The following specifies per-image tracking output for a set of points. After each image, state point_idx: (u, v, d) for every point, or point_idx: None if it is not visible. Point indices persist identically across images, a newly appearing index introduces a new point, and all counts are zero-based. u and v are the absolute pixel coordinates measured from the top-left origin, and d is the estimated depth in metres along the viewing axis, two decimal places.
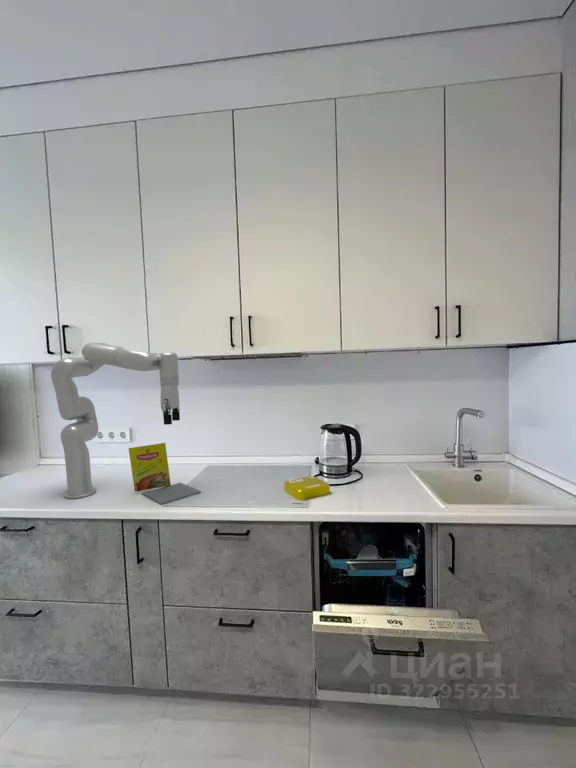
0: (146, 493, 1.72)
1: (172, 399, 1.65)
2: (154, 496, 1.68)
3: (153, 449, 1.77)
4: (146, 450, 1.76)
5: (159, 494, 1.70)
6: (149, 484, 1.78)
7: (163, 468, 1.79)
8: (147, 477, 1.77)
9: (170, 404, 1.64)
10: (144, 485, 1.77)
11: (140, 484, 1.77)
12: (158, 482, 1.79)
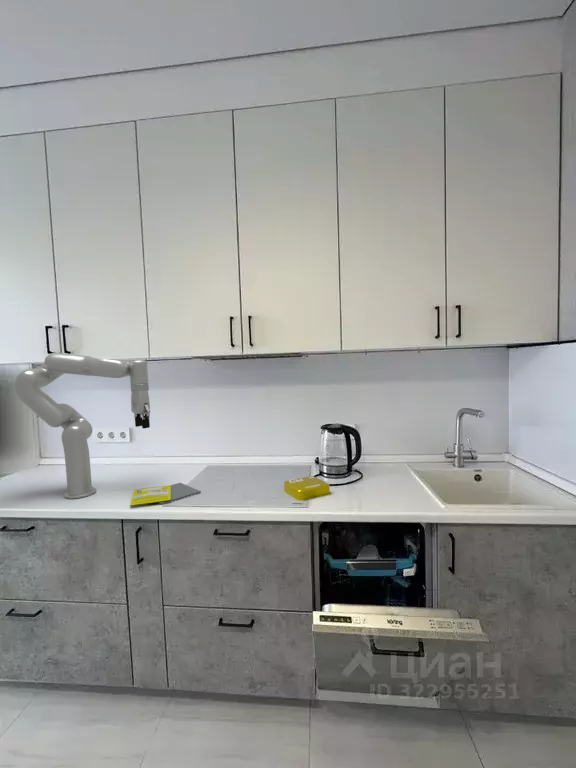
0: None
1: None
2: None
3: None
4: None
5: None
6: None
7: None
8: None
9: (149, 409, 1.78)
10: None
11: None
12: None
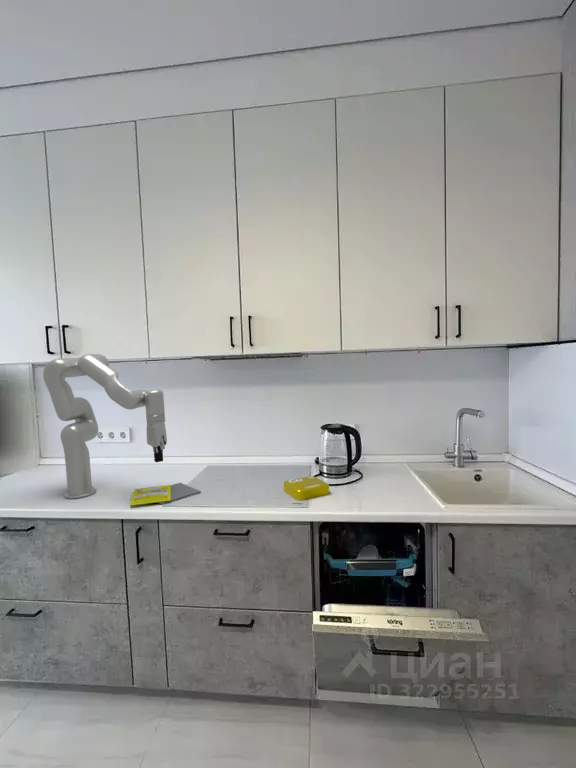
0: None
1: None
2: None
3: None
4: None
5: None
6: None
7: None
8: None
9: (164, 444, 1.70)
10: None
11: None
12: None
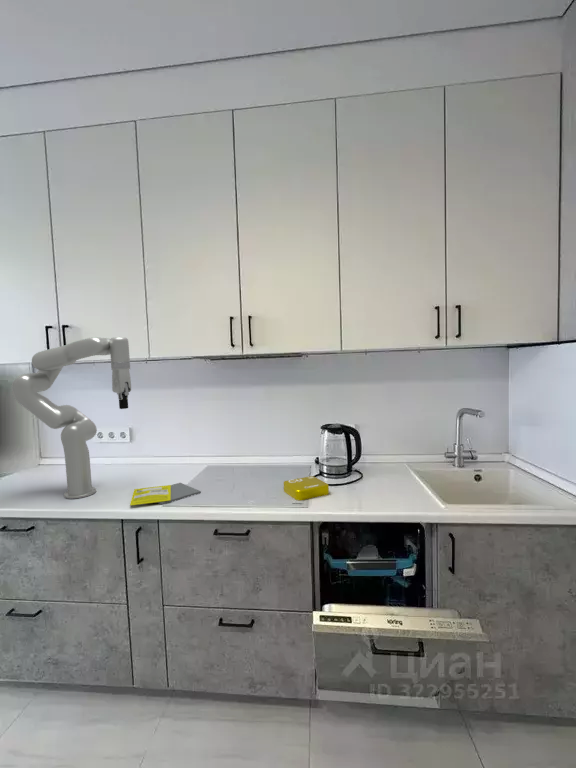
0: None
1: None
2: None
3: None
4: None
5: None
6: None
7: None
8: None
9: (129, 391, 1.72)
10: None
11: None
12: None
